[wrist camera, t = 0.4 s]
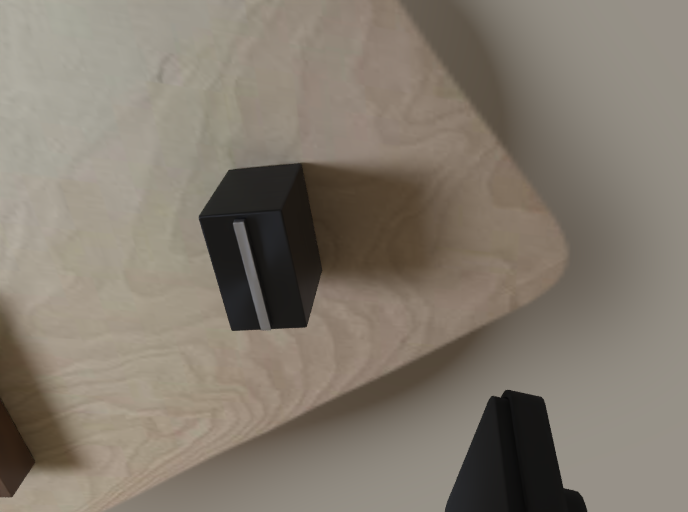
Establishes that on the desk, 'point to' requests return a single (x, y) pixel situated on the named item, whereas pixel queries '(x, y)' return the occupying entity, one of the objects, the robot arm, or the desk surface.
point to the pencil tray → (12, 456)
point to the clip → (263, 247)
